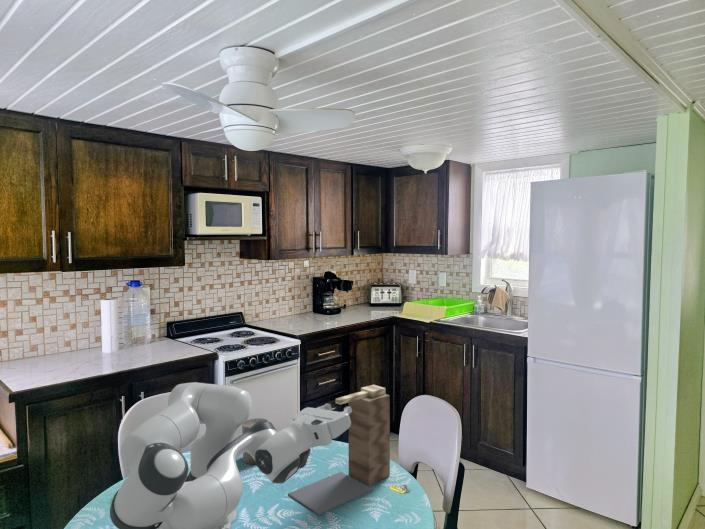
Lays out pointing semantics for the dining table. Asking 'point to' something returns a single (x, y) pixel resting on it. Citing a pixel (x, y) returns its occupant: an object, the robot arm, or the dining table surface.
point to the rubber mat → (330, 492)
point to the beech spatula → (362, 394)
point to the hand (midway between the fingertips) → (339, 407)
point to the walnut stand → (369, 439)
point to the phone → (304, 457)
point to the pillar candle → (245, 426)
